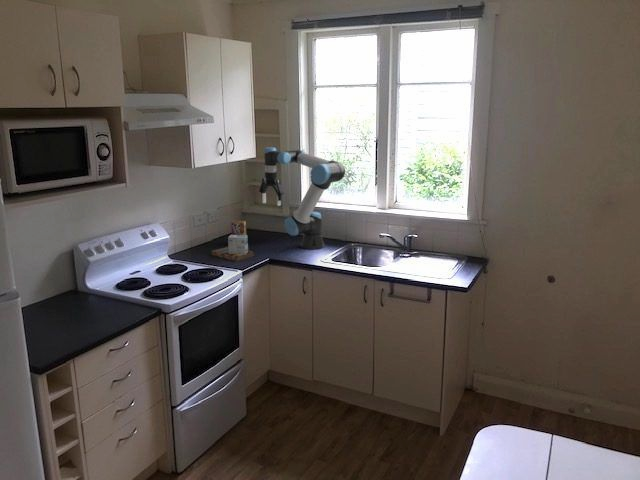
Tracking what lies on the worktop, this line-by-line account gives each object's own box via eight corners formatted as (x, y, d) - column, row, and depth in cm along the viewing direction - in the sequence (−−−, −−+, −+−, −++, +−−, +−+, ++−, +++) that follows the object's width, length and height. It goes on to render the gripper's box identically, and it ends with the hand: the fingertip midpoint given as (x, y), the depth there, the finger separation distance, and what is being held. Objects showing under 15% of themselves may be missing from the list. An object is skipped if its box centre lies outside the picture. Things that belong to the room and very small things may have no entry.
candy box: (246, 243, 371) (246, 220, 367) (244, 244, 367) (243, 222, 363) (234, 242, 373) (233, 220, 369) (231, 244, 369) (231, 221, 365)
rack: (255, 256, 340) (255, 252, 339) (235, 261, 329) (235, 257, 328) (230, 249, 355) (230, 245, 354) (211, 254, 343) (211, 250, 343)
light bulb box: (248, 251, 340) (247, 234, 337) (245, 254, 334) (245, 237, 331) (231, 251, 341) (230, 234, 339) (228, 254, 335) (227, 237, 332)
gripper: (253, 170, 363) (254, 202, 368) (280, 173, 347) (281, 207, 352) (261, 169, 368) (262, 201, 373) (288, 172, 352) (289, 205, 358)
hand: (271, 204), depth 363 cm, fingers open, 13 cm apart
